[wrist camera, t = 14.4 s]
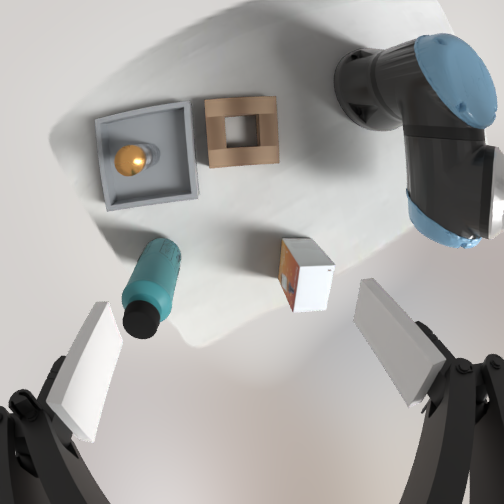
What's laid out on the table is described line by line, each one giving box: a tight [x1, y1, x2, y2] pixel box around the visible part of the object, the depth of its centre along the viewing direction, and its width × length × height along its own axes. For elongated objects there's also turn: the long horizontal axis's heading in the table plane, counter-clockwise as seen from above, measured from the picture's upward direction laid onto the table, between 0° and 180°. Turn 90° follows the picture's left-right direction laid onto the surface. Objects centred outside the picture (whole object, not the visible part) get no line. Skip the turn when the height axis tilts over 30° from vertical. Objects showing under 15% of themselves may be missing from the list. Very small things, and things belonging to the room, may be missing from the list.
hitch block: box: [204, 96, 279, 168], centre depth 37 cm, size 10×10×3 cm
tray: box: [95, 101, 199, 212], centre depth 36 cm, size 14×14×4 cm
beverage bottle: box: [122, 238, 182, 339], centre depth 35 cm, size 6×7×20 cm
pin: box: [114, 144, 161, 176], centre depth 32 cm, size 4×4×10 cm
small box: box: [278, 238, 336, 312], centre depth 43 cm, size 8×6×10 cm
